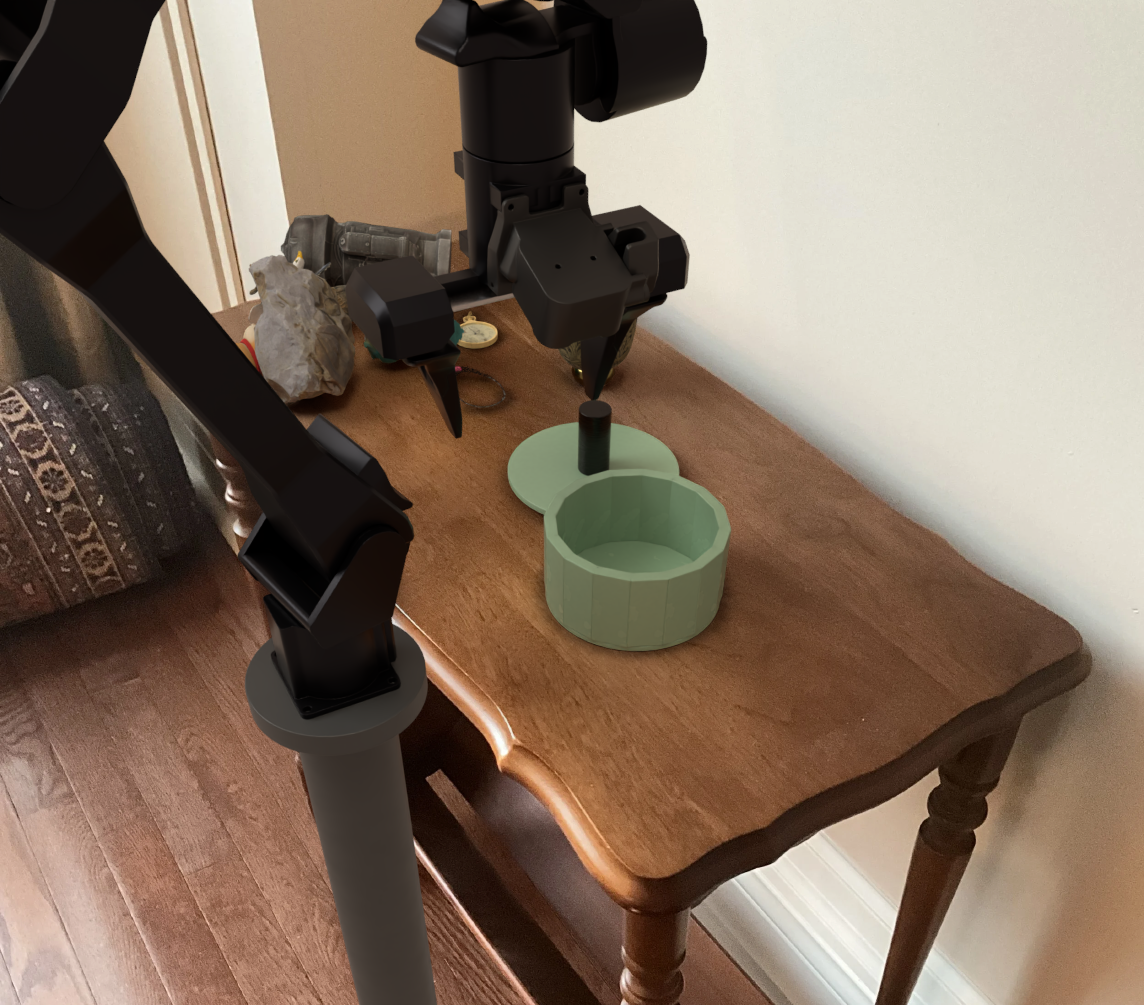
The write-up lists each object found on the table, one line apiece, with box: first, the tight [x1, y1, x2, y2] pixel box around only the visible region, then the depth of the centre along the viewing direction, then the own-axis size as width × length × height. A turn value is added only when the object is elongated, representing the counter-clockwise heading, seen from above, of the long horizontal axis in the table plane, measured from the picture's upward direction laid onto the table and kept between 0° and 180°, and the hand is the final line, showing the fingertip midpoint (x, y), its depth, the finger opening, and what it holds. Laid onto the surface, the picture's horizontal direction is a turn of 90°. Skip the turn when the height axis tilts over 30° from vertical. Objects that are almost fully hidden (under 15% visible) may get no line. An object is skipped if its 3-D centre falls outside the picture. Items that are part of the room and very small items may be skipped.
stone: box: [248, 254, 356, 405], centre depth 94 cm, size 11×7×10 cm
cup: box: [557, 318, 638, 387], centre depth 96 cm, size 8×7×8 cm
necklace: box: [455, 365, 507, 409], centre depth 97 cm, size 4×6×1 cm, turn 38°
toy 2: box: [280, 214, 453, 287], centre depth 104 cm, size 8×6×15 cm
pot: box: [543, 469, 732, 652], centre depth 78 cm, size 12×12×6 cm
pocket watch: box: [457, 312, 499, 349], centre depth 104 cm, size 6×4×1 cm, turn 14°
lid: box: [507, 399, 680, 515], centre depth 87 cm, size 13×13×6 cm
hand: (525, 416), depth 71 cm, fingers open, 9 cm apart
